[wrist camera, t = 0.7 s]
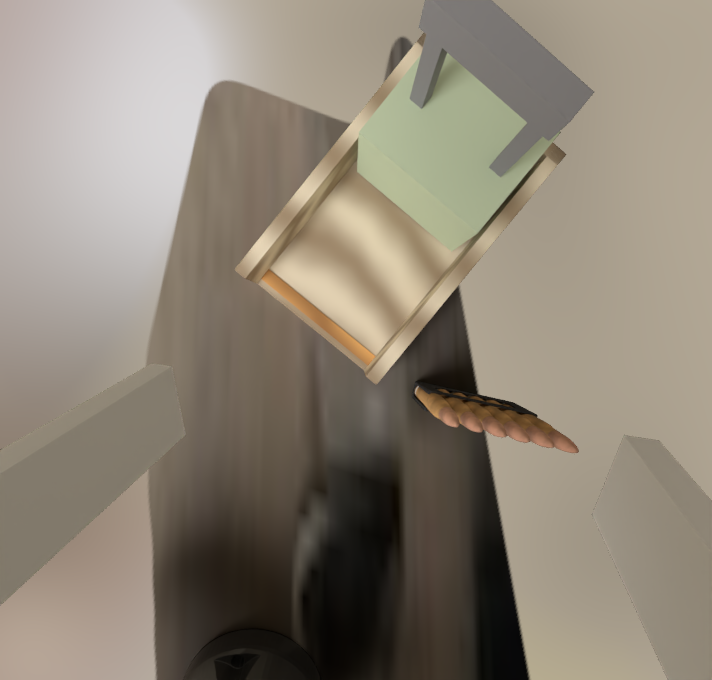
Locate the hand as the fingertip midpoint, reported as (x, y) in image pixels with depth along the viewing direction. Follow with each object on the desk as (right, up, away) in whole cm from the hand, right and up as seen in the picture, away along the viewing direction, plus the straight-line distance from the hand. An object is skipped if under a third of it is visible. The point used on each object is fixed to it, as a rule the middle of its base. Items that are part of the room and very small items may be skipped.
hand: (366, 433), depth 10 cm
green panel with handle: (+8, +19, +23) cm, 31 cm away
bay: (+3, +14, +25) cm, 29 cm away
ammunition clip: (+11, -4, +26) cm, 29 cm away
